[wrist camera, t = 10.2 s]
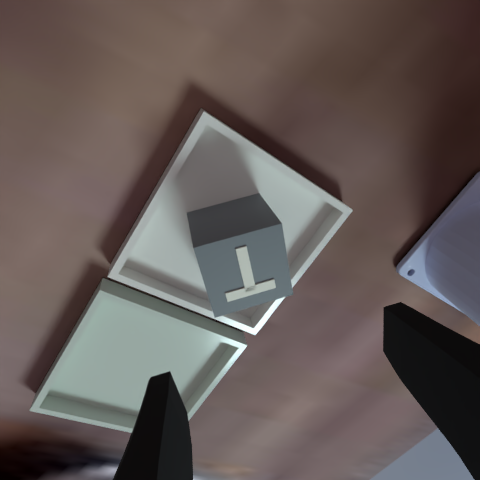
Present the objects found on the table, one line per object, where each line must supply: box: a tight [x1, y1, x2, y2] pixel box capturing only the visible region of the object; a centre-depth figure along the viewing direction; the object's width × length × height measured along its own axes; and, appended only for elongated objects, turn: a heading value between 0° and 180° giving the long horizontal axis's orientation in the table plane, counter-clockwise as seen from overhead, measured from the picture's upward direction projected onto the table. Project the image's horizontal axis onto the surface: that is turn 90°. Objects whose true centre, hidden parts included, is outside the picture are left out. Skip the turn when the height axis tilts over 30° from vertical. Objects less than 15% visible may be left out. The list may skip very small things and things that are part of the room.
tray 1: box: [108, 108, 353, 335], centre depth 20 cm, size 10×10×1 cm
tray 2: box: [29, 278, 247, 433], centre depth 22 cm, size 10×10×1 cm
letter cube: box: [187, 193, 293, 318], centre depth 18 cm, size 4×4×4 cm
